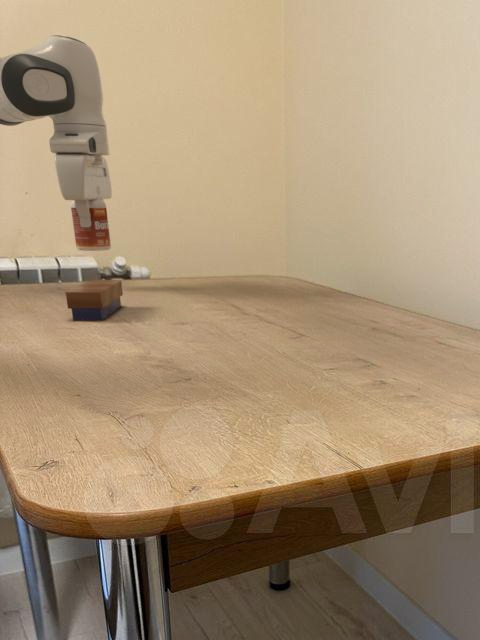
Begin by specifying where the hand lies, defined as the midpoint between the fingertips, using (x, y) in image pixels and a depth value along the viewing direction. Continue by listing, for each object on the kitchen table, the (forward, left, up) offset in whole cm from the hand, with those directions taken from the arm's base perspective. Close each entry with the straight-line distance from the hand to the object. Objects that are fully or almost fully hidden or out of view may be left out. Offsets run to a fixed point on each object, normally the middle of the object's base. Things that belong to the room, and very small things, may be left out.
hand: (92, 226), depth 131 cm
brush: (+7, -28, -11) cm, 30 cm away
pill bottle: (0, 0, -4) cm, 4 cm away
